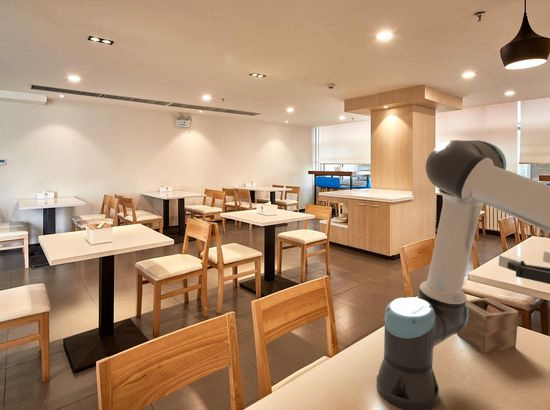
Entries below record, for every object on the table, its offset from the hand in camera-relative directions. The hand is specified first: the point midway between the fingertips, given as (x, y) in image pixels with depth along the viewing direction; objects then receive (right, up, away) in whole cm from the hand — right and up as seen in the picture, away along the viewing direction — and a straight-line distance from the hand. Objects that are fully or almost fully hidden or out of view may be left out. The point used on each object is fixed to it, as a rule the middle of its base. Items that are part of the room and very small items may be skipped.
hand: (522, 258), depth 85 cm
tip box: (+5, -31, +23) cm, 39 cm away
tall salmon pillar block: (+5, -30, +23) cm, 38 cm away
